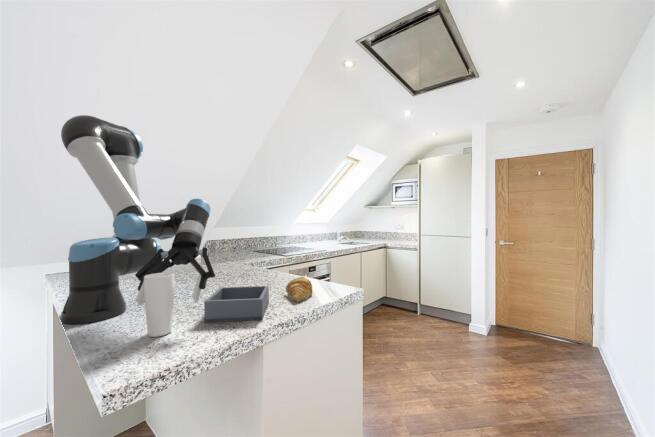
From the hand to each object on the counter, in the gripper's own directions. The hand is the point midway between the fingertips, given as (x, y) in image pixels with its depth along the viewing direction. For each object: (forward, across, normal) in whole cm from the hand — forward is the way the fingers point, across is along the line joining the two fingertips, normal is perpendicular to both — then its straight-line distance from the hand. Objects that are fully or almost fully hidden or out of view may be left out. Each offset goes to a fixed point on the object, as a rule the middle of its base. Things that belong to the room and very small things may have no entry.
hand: (167, 301), depth 70 cm
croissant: (-14, -34, -28) cm, 46 cm away
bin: (-4, -15, -15) cm, 22 cm away
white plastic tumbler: (+6, +2, -5) cm, 8 cm away
